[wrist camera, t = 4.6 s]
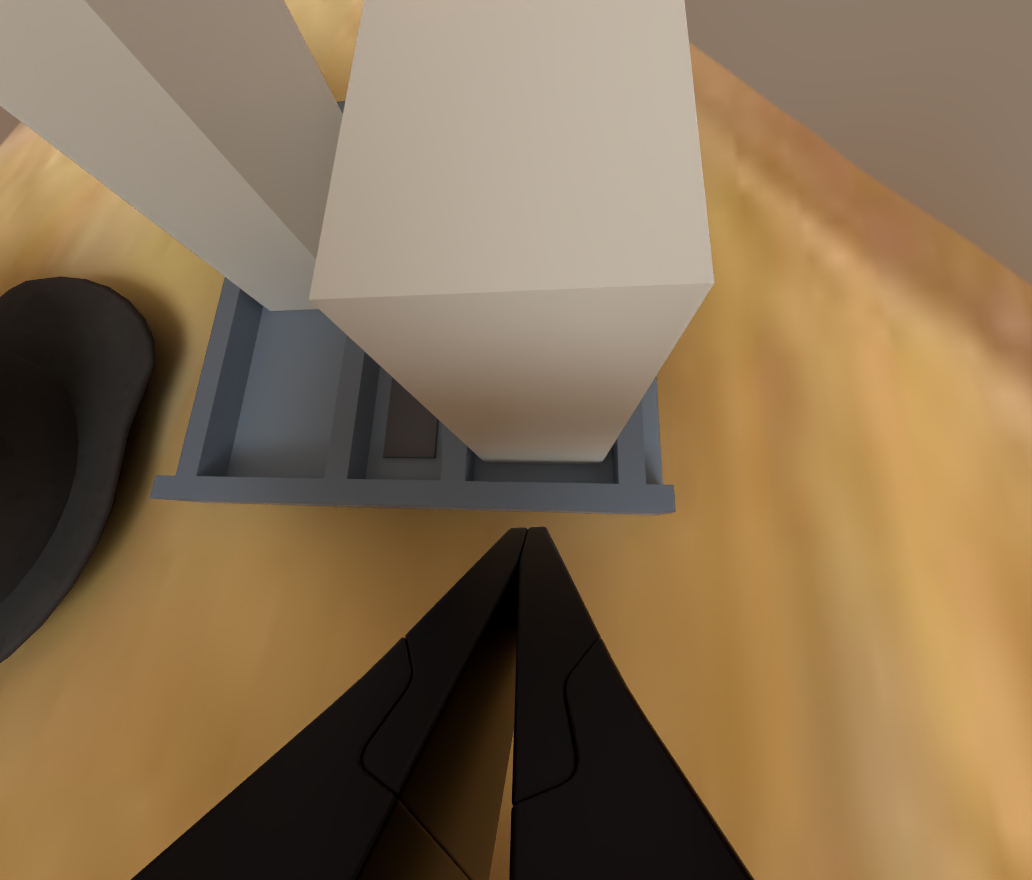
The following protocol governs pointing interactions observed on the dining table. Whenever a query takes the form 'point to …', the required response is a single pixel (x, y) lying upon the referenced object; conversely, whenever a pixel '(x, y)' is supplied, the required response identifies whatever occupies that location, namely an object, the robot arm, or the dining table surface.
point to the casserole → (61, 435)
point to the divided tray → (368, 433)
